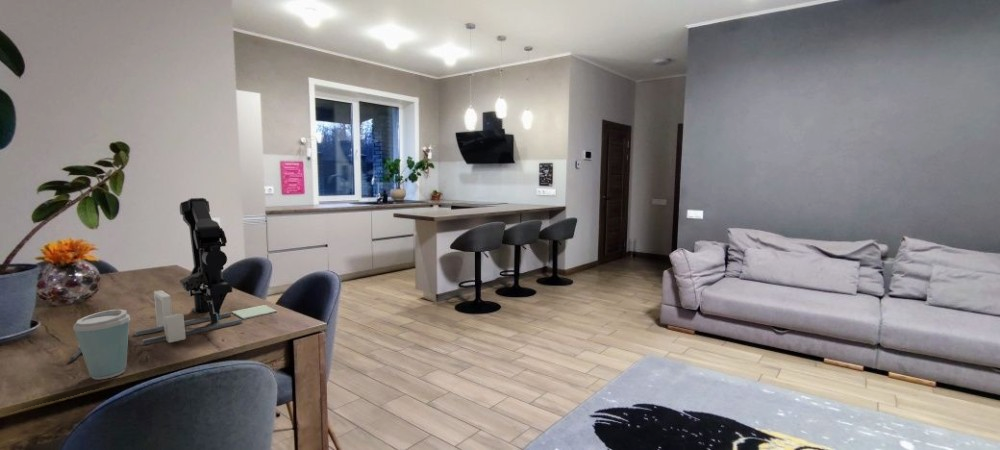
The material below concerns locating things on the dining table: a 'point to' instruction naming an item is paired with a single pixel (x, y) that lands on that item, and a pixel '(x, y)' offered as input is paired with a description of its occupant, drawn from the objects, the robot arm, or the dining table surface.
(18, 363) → the dining table surface
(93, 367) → the disposable coffee cup
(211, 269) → the robot arm
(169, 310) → the frosted white block
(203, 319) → the tie rails
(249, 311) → the pad
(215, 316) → the push button
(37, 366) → the dining table surface
